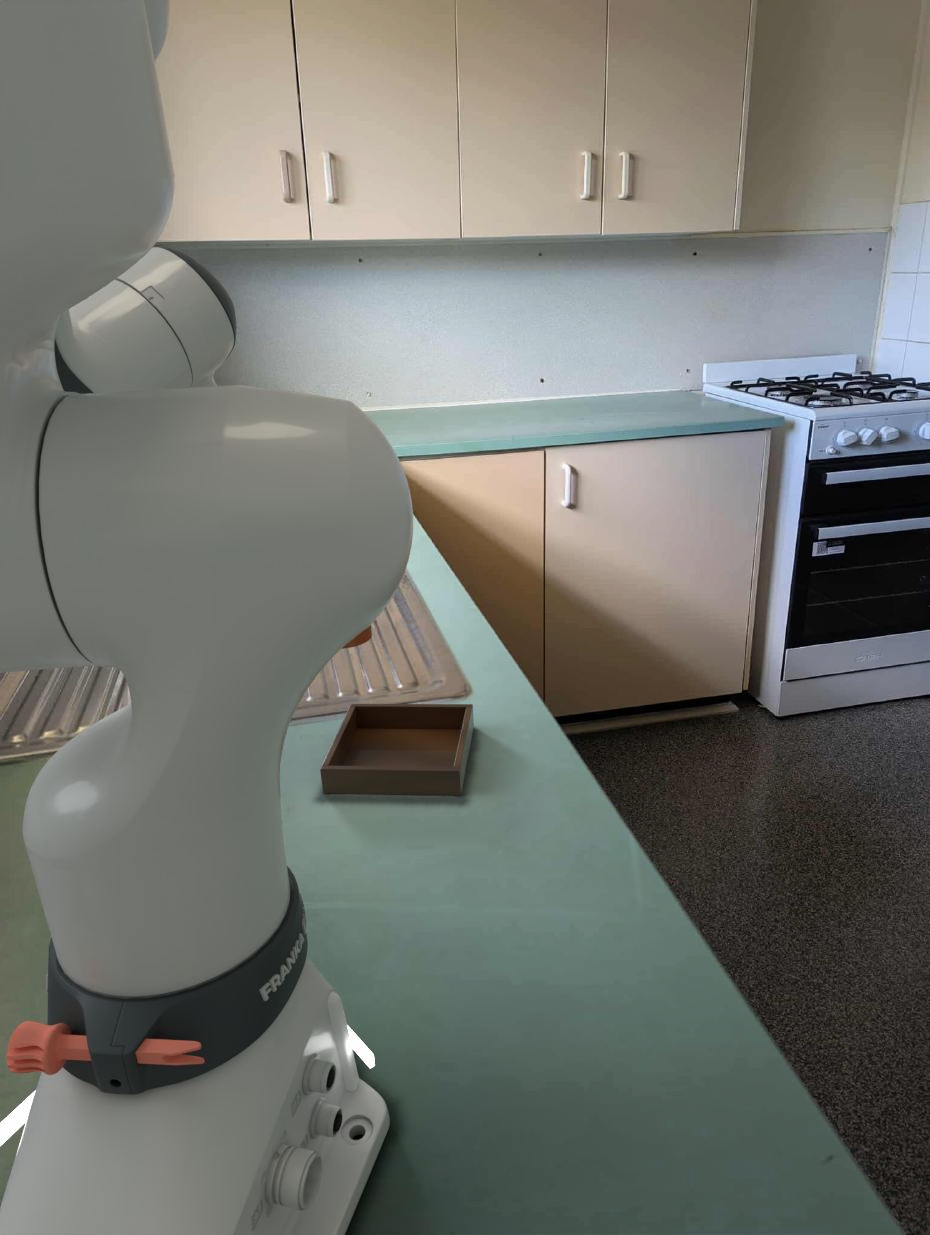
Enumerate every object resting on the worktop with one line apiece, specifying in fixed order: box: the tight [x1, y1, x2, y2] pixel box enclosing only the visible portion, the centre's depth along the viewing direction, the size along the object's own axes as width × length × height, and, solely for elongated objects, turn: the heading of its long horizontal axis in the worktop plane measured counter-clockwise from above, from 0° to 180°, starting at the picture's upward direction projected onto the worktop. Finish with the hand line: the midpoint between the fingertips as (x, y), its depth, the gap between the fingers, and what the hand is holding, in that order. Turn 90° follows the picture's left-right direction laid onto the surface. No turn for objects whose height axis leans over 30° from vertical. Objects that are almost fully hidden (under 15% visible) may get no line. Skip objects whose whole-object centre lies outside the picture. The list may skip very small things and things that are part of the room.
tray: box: [319, 703, 475, 797], centre depth 81 cm, size 12×12×3 cm
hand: (343, 570), depth 75 cm, fingers closed on spice jar, 5 cm apart
